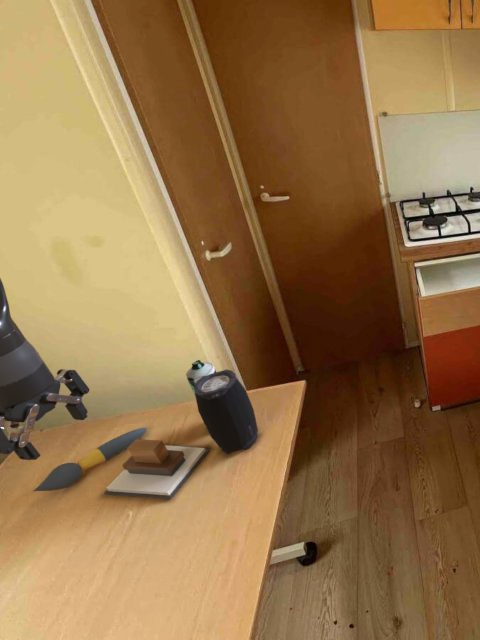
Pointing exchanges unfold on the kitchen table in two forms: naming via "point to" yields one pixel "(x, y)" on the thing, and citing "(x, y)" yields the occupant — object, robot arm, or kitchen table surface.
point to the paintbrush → (88, 461)
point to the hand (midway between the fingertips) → (58, 437)
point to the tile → (157, 478)
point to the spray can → (199, 372)
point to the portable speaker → (226, 411)
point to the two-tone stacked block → (153, 458)
